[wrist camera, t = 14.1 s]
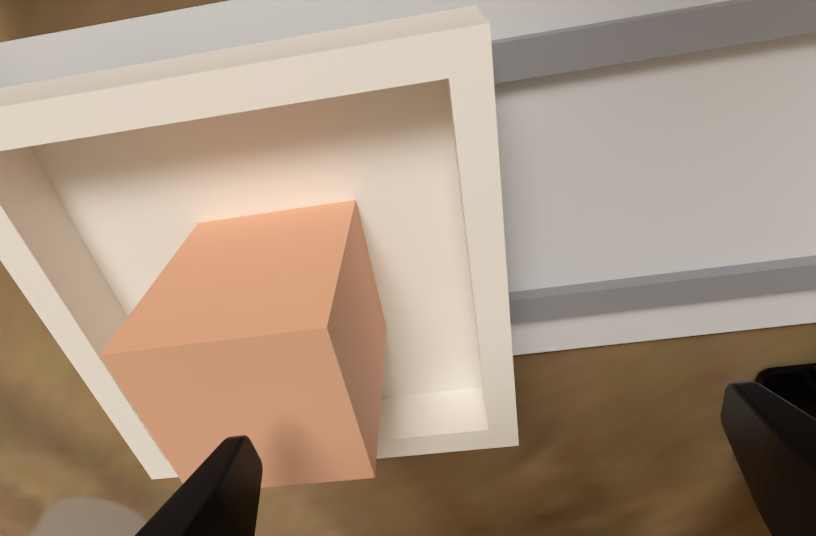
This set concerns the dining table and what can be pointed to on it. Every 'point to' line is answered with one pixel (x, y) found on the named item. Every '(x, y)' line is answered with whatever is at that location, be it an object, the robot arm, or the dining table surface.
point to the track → (591, 148)
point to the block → (262, 346)
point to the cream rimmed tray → (280, 202)
